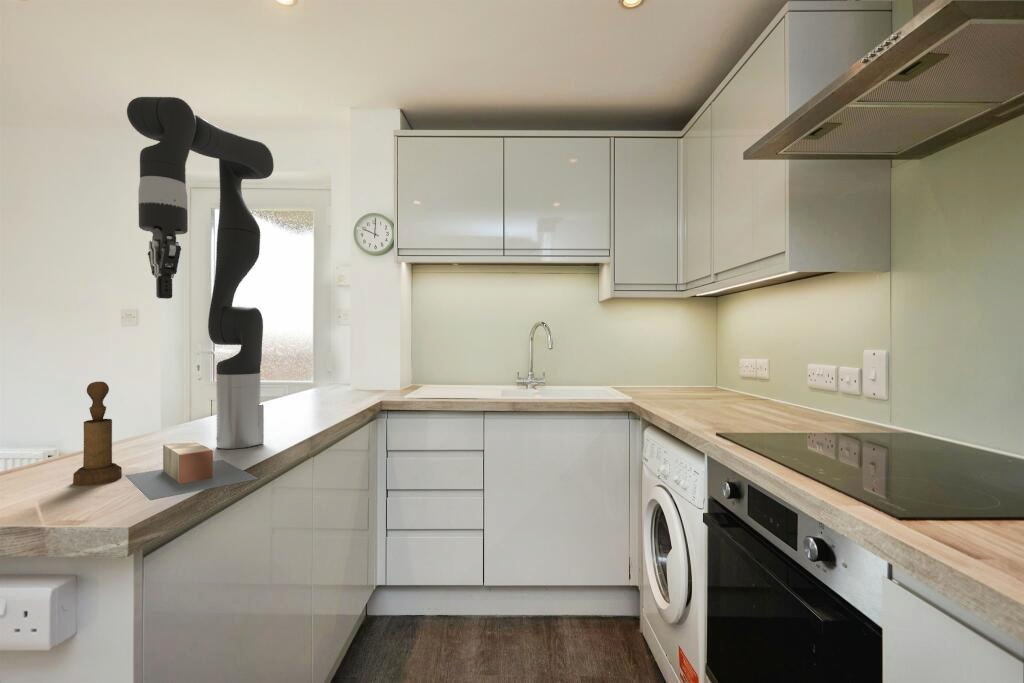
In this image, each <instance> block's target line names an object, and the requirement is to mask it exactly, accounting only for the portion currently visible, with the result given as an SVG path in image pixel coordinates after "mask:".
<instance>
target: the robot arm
mask: <svg viewBox="0 0 1024 683" xmlns="http://www.w3.org/2000/svg"><path fill="white" fill-rule="evenodd" d="M126 115H127V119H128V122H129V123H130V124H131V127H133V128H134V129H135V131H136V132H138V133H139V134H140V135H142V136H144V137H146V139H150V140H153V141H157V143H155V144H153V145H149V146H146V147H143V148H142V149H141V151H140V153H139V184H138V191H137V192H138V194H137V195H138V201H137V202H138V227H139V229H141V230H142V231H146V232H150V233H152V238H151V239H152V240H149V241H148V252H147V256H148V262H149V264H150V270H151V274H152V276H154V278H155V279H156V280H155V281H156V282H155V284H156V285H155V286H156V288H155V289H156V291H155V292H156V297H157V299H165V300H167V299H172V298H173V279H174V277H175V275H177V273H178V272H177V271H178V266H179V261H180V257H181V256H180V255H181V251H182V247H181V245H180V242H179V241H177V236H178V235H185V234H186V233H188V231H189V230H188V229H189V228H188V227H189V226H188V223H189V222H188V219H189V218H188V216H189V215H188V213H189V212H188V194H187V186H186V184H187V183H186V182H187V180H186V166H187V160H188V157H189V154H190V151H192V152H194V153H196V154H199V155H201V156H205V157H209V158H213V159H217V160H218V167H219V168H218V169H219V170H218V172H219V211H218V212H219V214H218V224H217V232H216V233H217V234H216V235H217V236H216V250H215V251H216V254H215V255H216V256H215V258H216V259H215V272H214V274H215V275H214V280H213V281H214V282H213V288H212V295H211V300H210V304H209V305H210V306H209V312H208V313H209V314H208V322H207V328H208V330H207V331H208V332H207V333H208V334H209V335H208V336H209V339H210V340H211V342H212V343H213V344H215V345H218V346H219V345H220V346H240V350H239V351H238V353H236V354H235V355H233V356H231V357H229V358H226V359H222V360H220V361H218V362H217V364H216V437H215V438H216V439H215V440H216V448H218V449H228V450H230V449H231V450H232V449H243V448H250V447H254V446H258V445H261V444H262V445H263V444H264V443H265V441H264V440H265V438H264V436H265V435H264V432H265V431H264V430H265V429H264V426H265V425H264V424H265V423H264V422H265V421H264V420H265V417H264V415H265V413H264V406H265V405H264V404H263V403H261V365H262V359H263V358H262V357H263V356H262V355H263V354H262V353H263V338H264V335H263V334H264V320H263V316H262V313H261V311H260V309H258V307H254V306H233V303H234V298H235V295H236V291H237V289H238V288H239V286H240V284H241V283H242V281H243V280H244V279H245V277H246V276H247V275H248V274H249V272H250V271H251V270H252V269H253V267H254V266H255V265H256V263H257V261H258V259H259V256H260V250H261V246H260V245H261V229H260V226H259V224H258V222H257V220H256V219H255V217H254V216H253V214H252V212H251V211H250V209H249V208H248V206H247V204H246V202H245V200H244V198H243V193H242V182H243V180H263V179H267V178H270V176H272V174H273V172H274V158H273V154H272V152H271V150H270V148H269V147H268V146H267V145H266V144H265V143H263V142H262V141H259V140H254V139H250V138H248V137H243V136H241V135H238V134H236V133H233V132H231V131H229V130H226V129H224V128H221V127H219V126H217V125H215V124H213V123H212V122H210V121H208V120H206V119H204V118H203V117H201V116H199V115H197V114H195V113H194V110H193V108H192V107H191V106H190V105H189V103H188V102H187V101H185V99H184V100H183V99H182V98H180V97H175V96H140V97H139V96H138V97H134V98H133V99H131V101H130V102H129V103H128V104H127V108H126ZM176 235H177V236H176Z"/></svg>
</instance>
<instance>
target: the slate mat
mask: <svg viewBox="0 0 1024 683" xmlns="http://www.w3.org/2000/svg"><path fill="white" fill-rule="evenodd" d="M125 477H126V478H128V480H129V481H130V482H131V483H132V484H133V485H134V486H135V487H136V488H137V489H138V490H139V491H140V492H141V493H142V494H143V495H144V496H145V497H146V498H147V499H148V500H150V501H153V500H158V499H163V498H168V497H169V498H170V497H174V496H178V495H183V494H188V493H194V492H199V491H203V490H209V489H214V488H219V487H224V486H230V485H234V484H240V483H245V482H251V481H255V480H259V478H258V477H256V476H254V475H253V474H250V473H249V472H247V471H245V470H243V469H241V468H239V467H237V466H235V465H233V464H232V463H230V462H227V461H225V460H223V459H218V460H213V478H209V479H204V480H198V481H193V482H187V483H182V484H180V483H179V482H177V481H176V480H175V479H173V478H172V477H171V476H169V475H168V474H167V473H165V472H164V471H163V468H161V469H155V470H149V471H144V472H137V473H131V474H125Z"/></svg>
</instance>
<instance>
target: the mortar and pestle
mask: <svg viewBox="0 0 1024 683" xmlns="http://www.w3.org/2000/svg"><path fill="white" fill-rule="evenodd" d="M109 391H110V387H109V385H108V384H107V382H105V381H92V382H91V383H89V384H88V385H87V387H86V393H87V395H88V396H89V398H90V399H91V401H92V404H91V406H90V407H89V408H88V409H89V413H90V416H91V419H88V420H85V421H83V458H82V460H83V463H82V464H83V465H82V467H79V468H78V469H77V470H76V471H74V472H73V474H72V478H73V479H72V485H73V486H77V487H89V486H90V487H91V486H97V485H103V484H109V483H112V482H115V481H118V480H121V479H122V476H123V473H122V472H123V471H122V470H123V469H122V466H121V465H118V464H117V463H115V462H113V419H112V418H104V416H105V414H106V411H107V406H106V405H104V400H105V398H106V397H107V395H108V394H109Z"/></svg>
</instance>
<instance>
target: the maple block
mask: <svg viewBox="0 0 1024 683" xmlns="http://www.w3.org/2000/svg"><path fill="white" fill-rule="evenodd" d="M162 445H163V446H162V447H163V448H162V449H163V450H162V452H163V453H162V454H163V455H162V456H163V457H162V458H163V459H162V469H163V471H164V472H165V473H167V474H168V475H169V476H171V477H172V478H173V479H175V480H176V481H177V482H179V483H180V484H182V483H187V482H193V481H198V480H204V479H209V478H213V461H214V458H213V456H214V453H213V452H214V450H213V449H211V448H210V447H207V446H206V445H203V444H201V443H200V442H197V441H195V440H188V441H180V442H173V443H165V444H162Z"/></svg>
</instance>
